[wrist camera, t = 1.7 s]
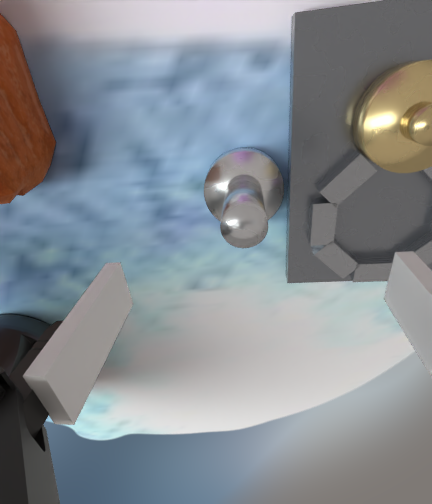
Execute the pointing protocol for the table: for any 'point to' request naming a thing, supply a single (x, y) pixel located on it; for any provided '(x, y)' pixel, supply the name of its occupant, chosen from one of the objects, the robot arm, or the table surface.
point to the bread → (20, 122)
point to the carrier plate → (350, 145)
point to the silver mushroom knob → (244, 194)
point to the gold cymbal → (397, 118)
